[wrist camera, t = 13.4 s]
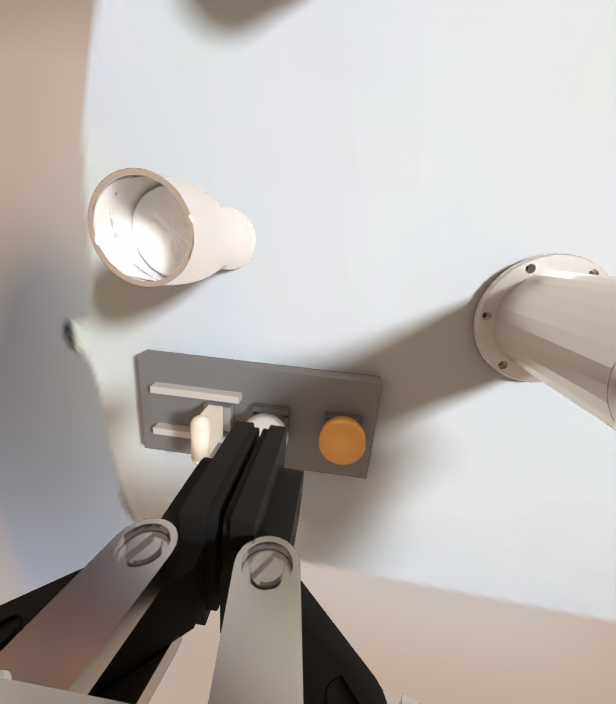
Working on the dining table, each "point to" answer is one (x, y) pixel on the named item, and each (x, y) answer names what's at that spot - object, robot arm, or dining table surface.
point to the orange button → (342, 440)
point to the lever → (209, 429)
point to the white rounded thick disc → (266, 422)
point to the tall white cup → (165, 230)
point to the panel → (255, 403)
